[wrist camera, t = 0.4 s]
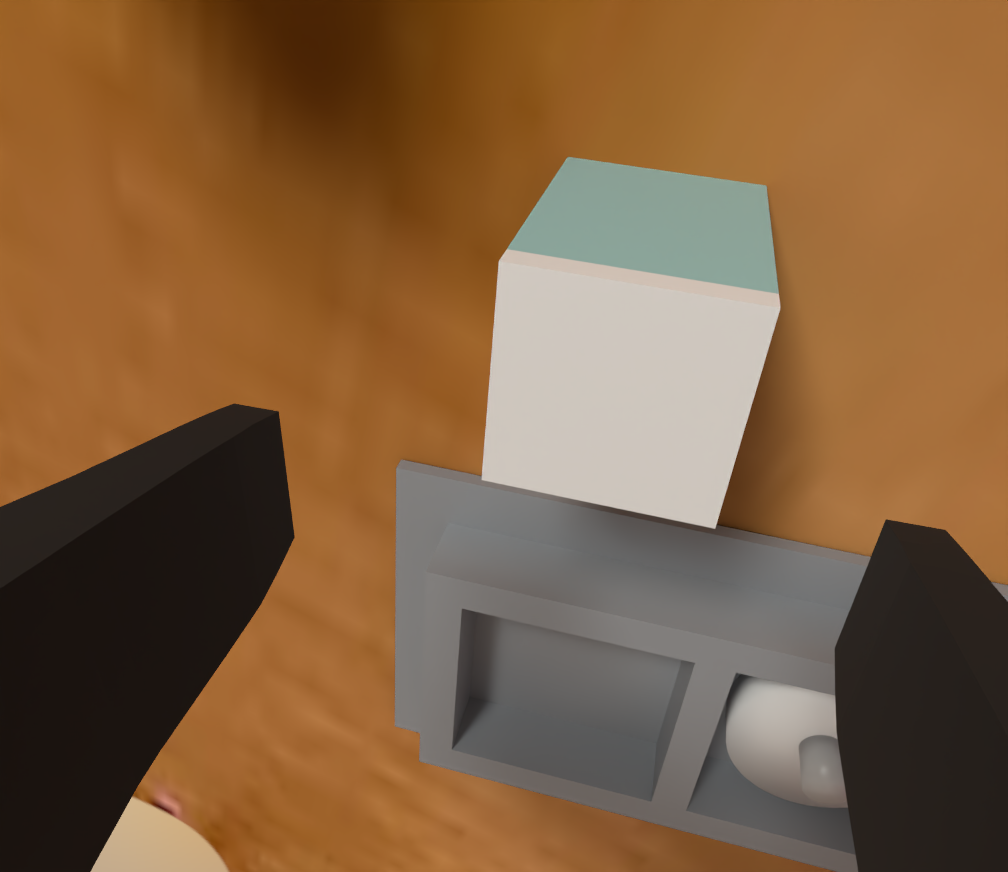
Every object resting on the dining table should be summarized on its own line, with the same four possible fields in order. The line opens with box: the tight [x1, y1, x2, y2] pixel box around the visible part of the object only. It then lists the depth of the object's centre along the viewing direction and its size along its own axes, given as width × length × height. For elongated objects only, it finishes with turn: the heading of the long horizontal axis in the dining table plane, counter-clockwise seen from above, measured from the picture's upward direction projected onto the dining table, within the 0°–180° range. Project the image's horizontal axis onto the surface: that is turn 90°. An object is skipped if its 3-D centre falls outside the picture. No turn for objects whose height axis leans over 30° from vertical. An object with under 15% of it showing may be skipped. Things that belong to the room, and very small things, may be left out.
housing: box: [395, 460, 1008, 872], centre depth 22 cm, size 18×11×3 cm, turn 85°
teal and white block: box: [482, 157, 780, 529], centre depth 15 cm, size 4×4×6 cm
